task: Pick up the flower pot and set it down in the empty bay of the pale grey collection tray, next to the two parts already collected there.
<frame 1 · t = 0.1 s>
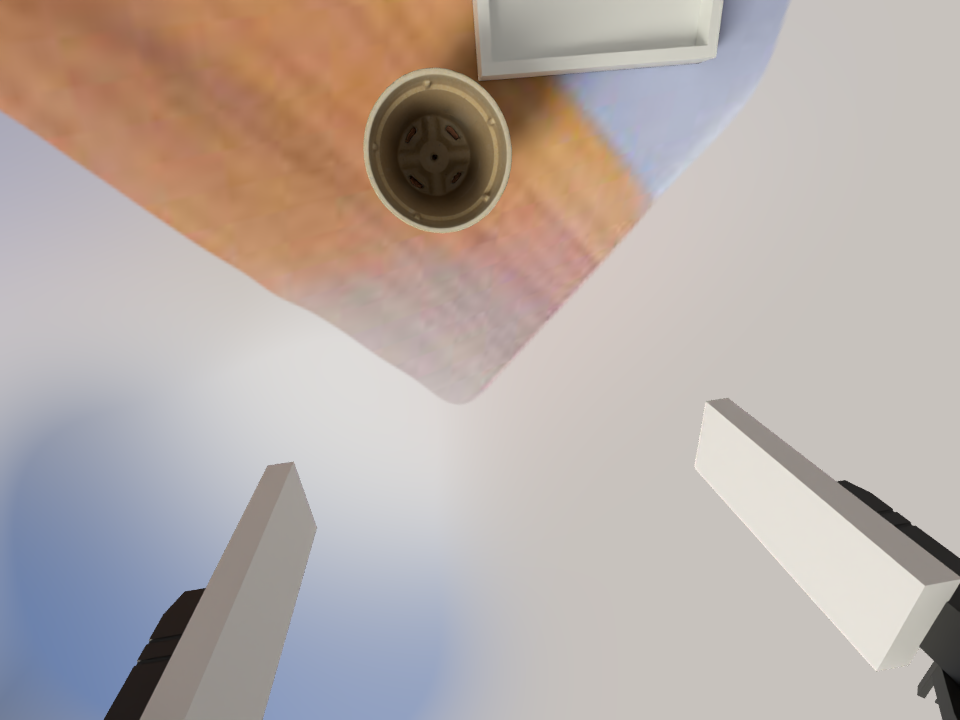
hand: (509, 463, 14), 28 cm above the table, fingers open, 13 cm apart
flower pot: (435, 157, 35), on the table
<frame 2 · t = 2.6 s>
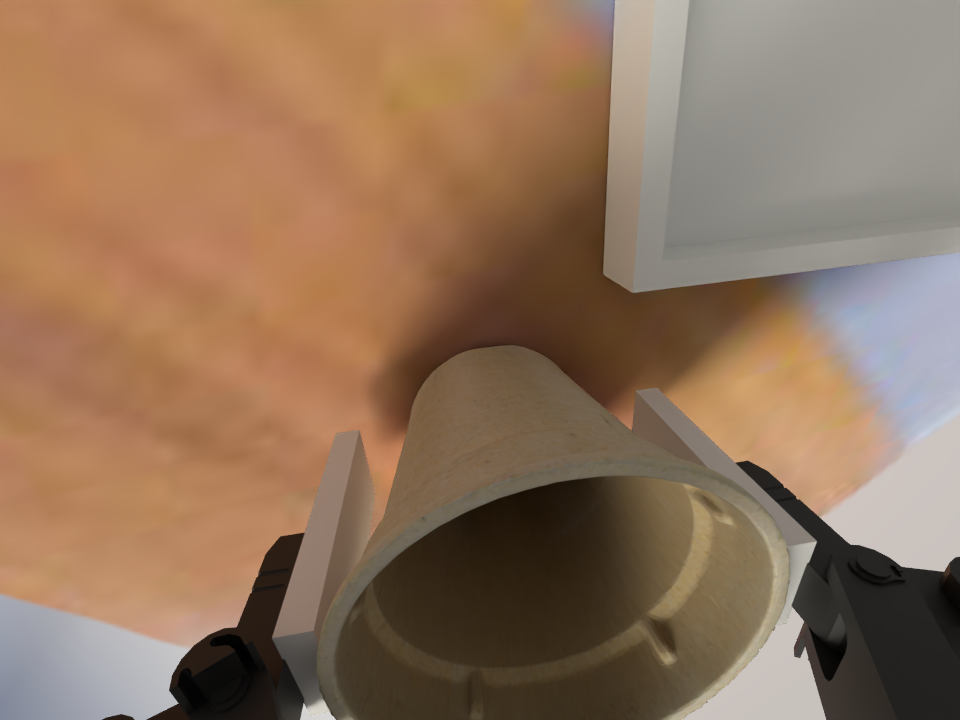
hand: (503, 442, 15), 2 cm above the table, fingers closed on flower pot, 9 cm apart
flower pot: (495, 413, 16), on the table, touching gripper
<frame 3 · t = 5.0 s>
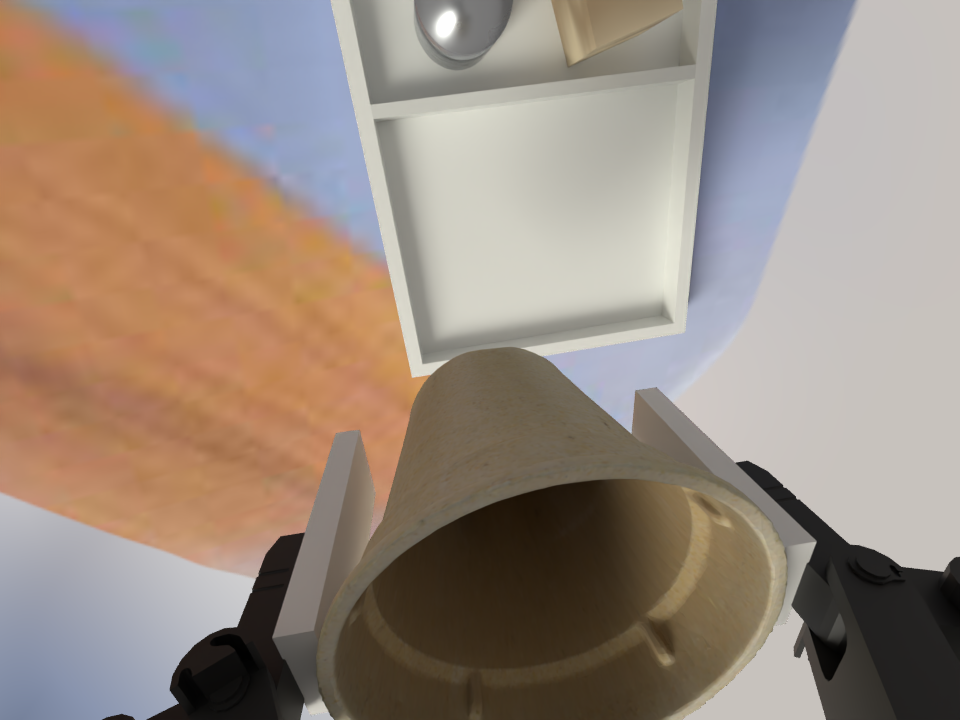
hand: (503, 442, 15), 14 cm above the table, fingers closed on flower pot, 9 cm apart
tray: (531, 168, 24), on the table
metal part: (455, 20, 20), point 1 cm above the table, touching tray
beech part: (593, 5, 21), point 1 cm above the table, touching tray
flower pot: (494, 415, 16), point 12 cm above the table, touching gripper
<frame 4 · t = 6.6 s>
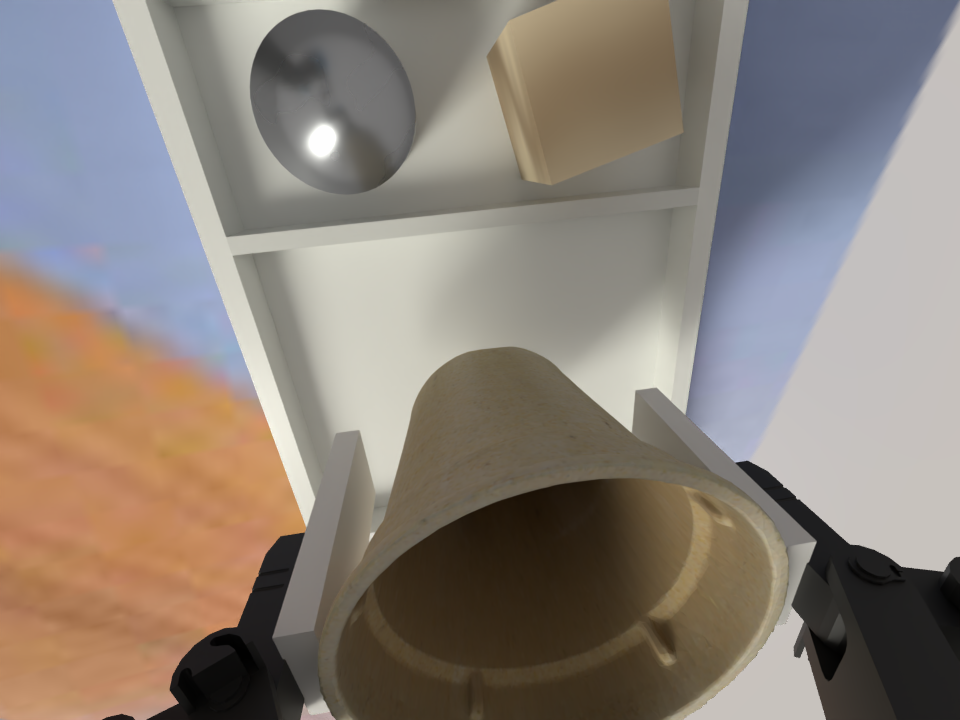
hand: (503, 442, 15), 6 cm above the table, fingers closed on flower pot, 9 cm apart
tray: (475, 298, 18), on the table
metal part: (356, 117, 14), point 1 cm above the table, touching tray
beech part: (558, 100, 15), point 1 cm above the table, touching tray
flower pot: (495, 414, 16), point 4 cm above the table, touching gripper
when the fingers open (2 cm above the table, at t = 7.7 s): flower pot stays where it is, resting on tray.
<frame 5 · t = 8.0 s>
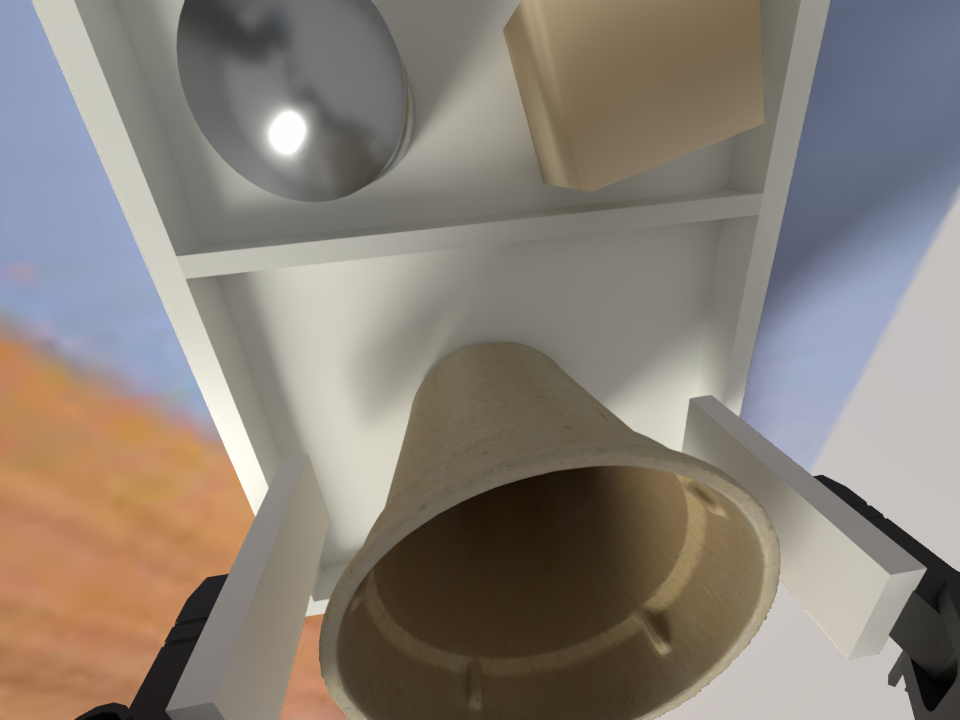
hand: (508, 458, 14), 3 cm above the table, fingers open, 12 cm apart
tray: (485, 323, 15), on the table
metal part: (340, 106, 11), point 1 cm above the table, touching tray
beech part: (590, 85, 12), point 1 cm above the table, touching tray
flower pot: (493, 410, 16), resting on tray
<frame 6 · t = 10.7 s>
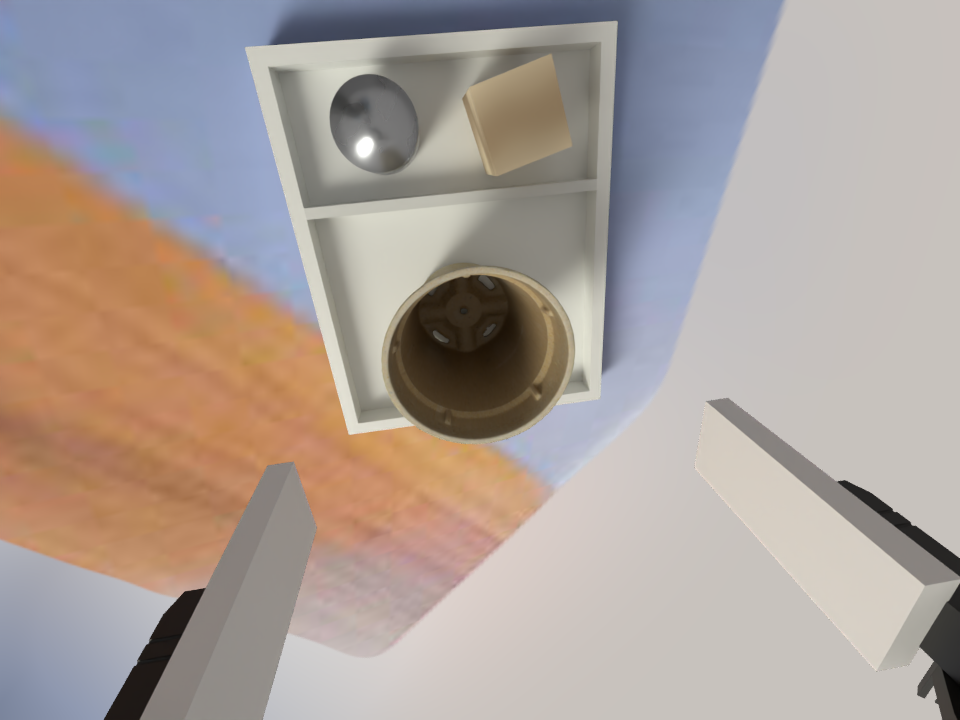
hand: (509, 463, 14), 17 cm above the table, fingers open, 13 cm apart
tray: (458, 254, 27), on the table
metal part: (382, 135, 23), point 1 cm above the table, touching tray
beech part: (507, 124, 24), point 1 cm above the table, touching tray
flower pot: (464, 307, 28), resting on tray
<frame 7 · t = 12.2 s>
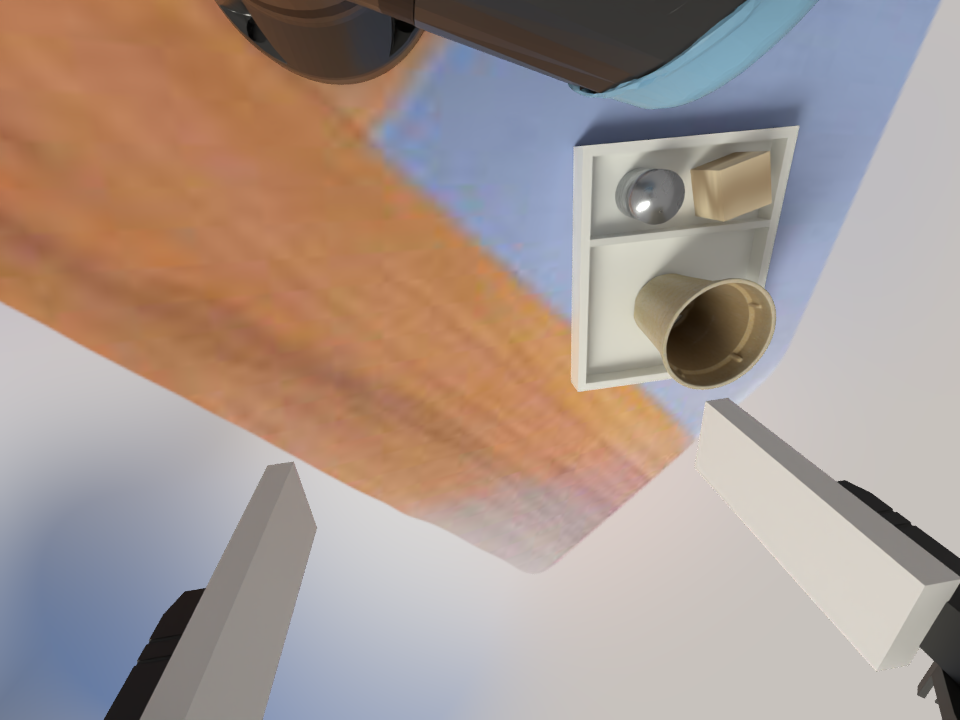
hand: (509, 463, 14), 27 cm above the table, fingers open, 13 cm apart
tray: (664, 267, 40), on the table
metal part: (638, 192, 36), point 1 cm above the table, touching tray
beech part: (714, 184, 37), point 1 cm above the table, touching tray
flower pot: (662, 303, 41), resting on tray
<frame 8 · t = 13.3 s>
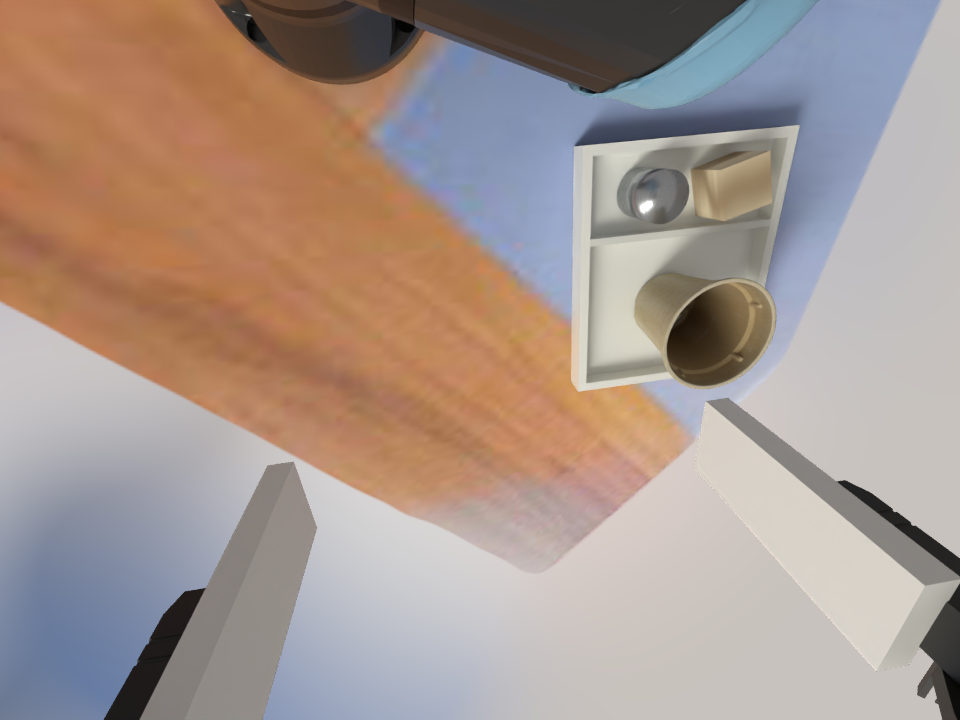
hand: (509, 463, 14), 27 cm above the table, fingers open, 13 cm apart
tray: (664, 267, 40), on the table
metal part: (638, 192, 36), point 1 cm above the table, touching tray
beech part: (714, 184, 37), point 1 cm above the table, touching tray
flower pot: (662, 303, 41), resting on tray
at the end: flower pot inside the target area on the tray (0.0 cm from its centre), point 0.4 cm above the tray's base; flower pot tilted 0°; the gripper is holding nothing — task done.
